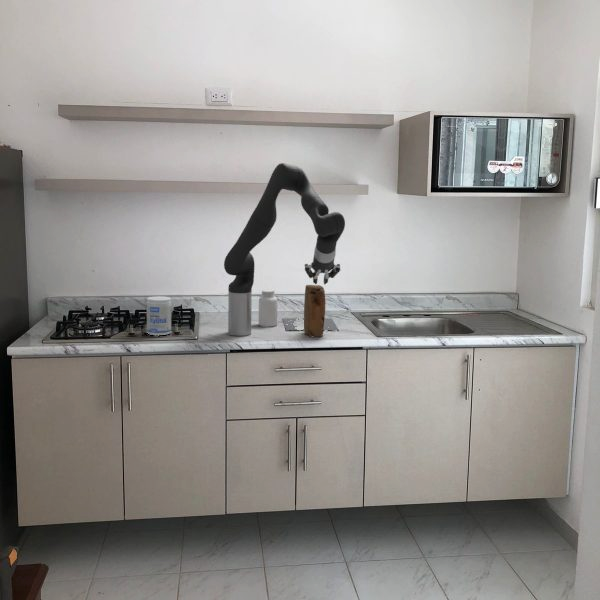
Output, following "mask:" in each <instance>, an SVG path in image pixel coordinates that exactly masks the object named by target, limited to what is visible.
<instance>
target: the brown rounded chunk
mask: <svg viewBox="0 0 600 600" xmlns="http://www.w3.org/2000/svg"><path fill="white" fill-rule="evenodd" d="M303 308H304V309H303V318H304V331H303V333H304V334H305V335H306V334H307V335H306V336H308V337H312V336H313V337H322V336H323V334H324V331H323V330H324V319H325V318H326V293H325V288H324V287H323V286H322V285H318V284H306V285H305V290H304V306H303ZM313 337H312V338H313Z"/></svg>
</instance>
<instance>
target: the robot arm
mask: <svg viewBox="0 0 600 600" xmlns="http://www.w3.org/2000/svg"><path fill="white" fill-rule="evenodd" d="M282 190H285V191H290V192H295V193H296V194H298V195H299V197H301V198H300V202H301V203H300V205H301V206H302V209H303V210H304V212H305V213H306V214H307V216H308V217H310V220H311V222H312V224H313V228H314V231H315V233H316V235H317V237H316V243H315V244H316V245H315V247H314V252H313V253H314V254H313V259H312V262H311V264H308V263H305V264H304V271H305V273H306V274H307V276H308V277H309V279H312V282H313V283H312V284H314V285H318V278H319V276H320V274H324V276H323V285H326V284H328V282H329V278H331V279H333V278H334V279H335V277H336V276H337V275H338V274H339V273H340V272H341V264H340V263H337V264H335V258H336V253H337V251H336V250H337V249H336V247H337V243H338V242H339V241H338V240H340V238H341V236H342V234H343V232H344V231H345V227H346V226H345V225H346V220H345V218H344V217H345V216H344V215H342V213H340V212H337V211H333V212H331V213H329V211H330V209H329V206H327V204H326V203H325V202H324V200H322V198H321V197H320V196H319V194H318V193H317V192H316V191H315V189H314V187H313V186H312V184H311V182H310V181H309V178H308V176H307V174H306V173H305V171H304V169H303V168H301V167H299V166H296V165H294V164H289V163H284V162H282V163H281V162H280V163H278V164H277V166H276V167H275V168H274V170H273V171H272V173H271V176H270V177H269V180H268V182H267V184H266V187H265V190H263V191H264V192H263V193H262V195H261V197H260V200H259V201H258V203H257V205H256V207H255V209H254V210H253V212H252V214H251V215H250V217H249V219H248V221H247V222H246V224H245V226H244V228H243V230H242V231H241V233H240V235H239V236H238V239H237V240H236V242H235V243H234V244H233V246H232V247H231V249H230V250H229V251H228V253H227V254H226V256H225V258H224V262H223V268H224V270H225V272H226V274H228V275H229V276H235V278H234V280H233V281H231V282H230V283H229V284H228V288H227V290H228V300H227V301H228V306H227V307H228V309H227V311H228V313H227V314H228V315H227V317H228V318H227V320H228V321H227V322H228V323H227V325H228V329H227V331H228V332H227V333H228V334H227V335H228V336H236V337H237V336H238V337H239V336H240V337H241V336H249V335H251V334H252V292H253V291H252V290H253V289H252V288H253V285H254V281H255V280H254V279H255V259H254V257H253V254H252V253H251V252H252V250H253V249H255V247H256V246H258V245H259V244H260V243H261V242H262V241H263V240H264V239H266V238H267V236H268V235H269V234H270V233H271V231H272V229H273V227H274V226H275V224H276V222H277V218H278V217H277V215H278V213H277V203H276V202H277V199H278V196H279V194H280V192H281V191H282ZM313 270H314V271H313Z"/></svg>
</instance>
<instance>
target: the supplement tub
mask: <svg viewBox="0 0 600 600" xmlns="http://www.w3.org/2000/svg"><path fill="white" fill-rule="evenodd" d="M147 333H148V334H150V335H158V336H159V335H166V334H169V333H172V298H171V297H169V296H163V295H162V296H161V295H160V296H159V295H158V296H148V297H147V298H146V334H147ZM148 334H147V335H148ZM150 335H149V336H150ZM158 336H157V337H158Z"/></svg>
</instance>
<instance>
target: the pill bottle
mask: <svg viewBox="0 0 600 600" xmlns="http://www.w3.org/2000/svg"><path fill="white" fill-rule="evenodd" d="M277 325H278V298H277V297H276V295H275V289H262V290H261V296H260V297H259V298H258V326H261V327H265V328H271V327H270V326H273V327H276V326H277Z"/></svg>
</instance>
